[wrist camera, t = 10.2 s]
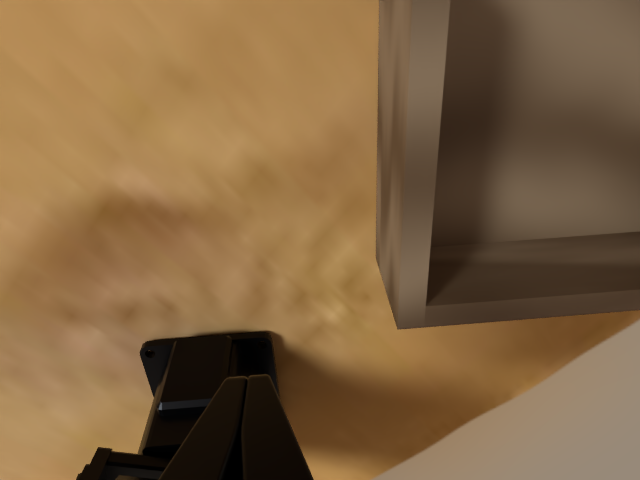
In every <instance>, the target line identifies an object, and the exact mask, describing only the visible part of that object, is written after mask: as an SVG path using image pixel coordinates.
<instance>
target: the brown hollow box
mask: <svg viewBox="0 0 640 480" xmlns="http://www.w3.org/2000/svg"><path fill="white" fill-rule="evenodd" d="M376 260H377V263H378V266H379V270H380V273H381V276H382V280H383V283H384V286H385V289H386V293H387V296H388V299H389V303H390V306H391V309H392V312H393V316H394V319H395V322H396V326H397V329H410V328H423V327H435V326H447V325H460V324H472V323H485V322H497V321H510V320H522V319H535V318H547V317H559V316H572V315H584V314H597V313H609V312H622V311H634V310H640V0H379V60H378V137H377V213H376Z"/></svg>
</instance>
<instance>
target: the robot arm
mask: <svg viewBox="0 0 640 480" xmlns="http://www.w3.org/2000/svg"><path fill="white" fill-rule="evenodd" d="M260 341H264V342H265V343H259V342H260ZM148 350H152V351H154V352H150V351H148ZM140 356H141V360H142V363H143V366H144V369H145V372H146V375H147V378H148V381H149V384H150V387H151V390H152V393H153V397H154V400H153V403H152V407H151V410H150V414H149V417H148V420H147V424H146V427H145V430H144V434H143V437H142V441H141V444H140V447H139V451H138V454H133V453H124V452H115V451H112V449H110V448H101V447H98V449H97V451H96V453H95V455H94V457H93V459H92V461H91V463H90V465H89V464H86V466H85V467H84V469H83V471H82V473H80V474H78V476H77V479H76V480H314V479H313V477H312V475H311V472H310V470H309V468H308V465H307V463H306V460H305V458H304V456H303V453H302V451H301V449H300V446H299V444H298V442H297V439H296V437H295V434H294V432H293V430H292V427H291V425H290V423H289V420H288V418H287V416H286V413H285V411H284V408H283V406H282V404H281V401H280V395H279V387H278V380H277V372H276V364H275V357H274V349H273V342H272V337H271V335H269V334H268V333H266V332H254V333H242V334H229V335H217V336H204V337H192V338H179V339H166V340H154V341H147V342H145V343H144V344H143V345H142V347H141V350H140Z"/></svg>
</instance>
